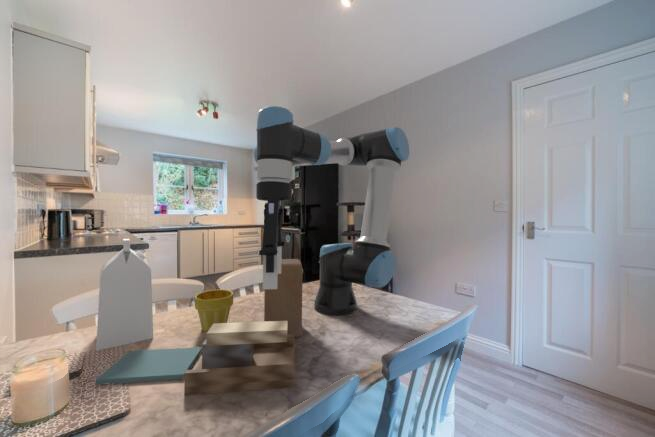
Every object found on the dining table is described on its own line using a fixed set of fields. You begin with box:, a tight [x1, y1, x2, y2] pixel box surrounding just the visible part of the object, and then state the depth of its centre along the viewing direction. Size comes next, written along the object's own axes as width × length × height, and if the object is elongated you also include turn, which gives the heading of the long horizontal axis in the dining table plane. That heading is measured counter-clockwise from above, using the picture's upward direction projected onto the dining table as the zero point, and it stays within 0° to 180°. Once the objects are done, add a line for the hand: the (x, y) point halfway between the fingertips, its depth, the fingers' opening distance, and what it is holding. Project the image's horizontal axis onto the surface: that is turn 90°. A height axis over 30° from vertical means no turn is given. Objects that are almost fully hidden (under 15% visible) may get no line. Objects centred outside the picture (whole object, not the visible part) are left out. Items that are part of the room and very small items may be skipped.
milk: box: [95, 238, 154, 352], centre depth 72 cm, size 12×12×26 cm
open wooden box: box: [183, 334, 296, 396], centre depth 57 cm, size 20×14×7 cm
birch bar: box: [205, 320, 288, 346], centre depth 57 cm, size 16×5×2 cm, turn 98°
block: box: [263, 258, 304, 339], centre depth 76 cm, size 10×10×20 cm
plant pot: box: [194, 288, 234, 333], centre depth 78 cm, size 10×10×10 cm
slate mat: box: [94, 346, 202, 386], centre depth 58 cm, size 16×11×1 cm
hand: (273, 280), depth 58 cm, fingers open, 13 cm apart
